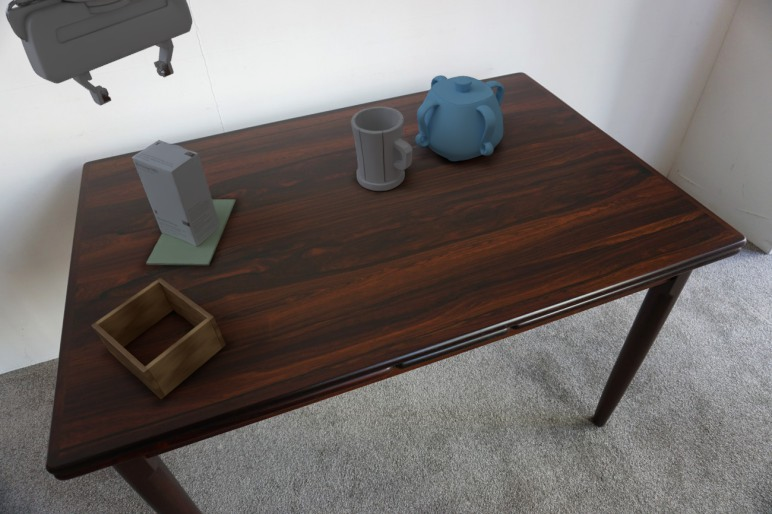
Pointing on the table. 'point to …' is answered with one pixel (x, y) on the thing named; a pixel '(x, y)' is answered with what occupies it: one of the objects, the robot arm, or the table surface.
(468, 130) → the decorative pot
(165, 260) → the mat
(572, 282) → the table surface
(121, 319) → the wooden box
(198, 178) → the cosmetic box
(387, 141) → the cup
